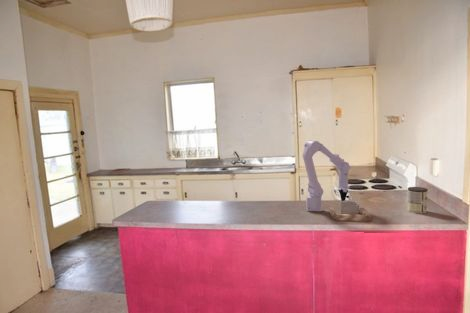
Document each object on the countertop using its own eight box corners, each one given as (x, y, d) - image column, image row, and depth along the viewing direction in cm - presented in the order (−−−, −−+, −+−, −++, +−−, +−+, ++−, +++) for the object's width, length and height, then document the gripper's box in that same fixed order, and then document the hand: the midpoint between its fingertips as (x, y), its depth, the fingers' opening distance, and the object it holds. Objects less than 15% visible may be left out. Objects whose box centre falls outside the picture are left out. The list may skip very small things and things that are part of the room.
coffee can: (407, 208, 197) (407, 186, 196) (426, 210, 193) (426, 187, 191) (407, 212, 188) (407, 189, 187) (427, 214, 184) (428, 190, 182)
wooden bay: (333, 220, 177) (333, 215, 177) (329, 211, 194) (329, 207, 194) (370, 221, 174) (370, 215, 174) (363, 212, 191) (363, 207, 190)
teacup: (360, 219, 178) (361, 205, 177) (340, 218, 180) (340, 204, 179) (355, 212, 192) (356, 199, 191) (337, 211, 194) (337, 199, 193)
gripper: (352, 182, 193) (351, 203, 195) (347, 178, 208) (347, 198, 209) (340, 182, 195) (340, 203, 196) (336, 178, 209) (336, 198, 210)
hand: (343, 200), depth 203 cm, fingers closed
